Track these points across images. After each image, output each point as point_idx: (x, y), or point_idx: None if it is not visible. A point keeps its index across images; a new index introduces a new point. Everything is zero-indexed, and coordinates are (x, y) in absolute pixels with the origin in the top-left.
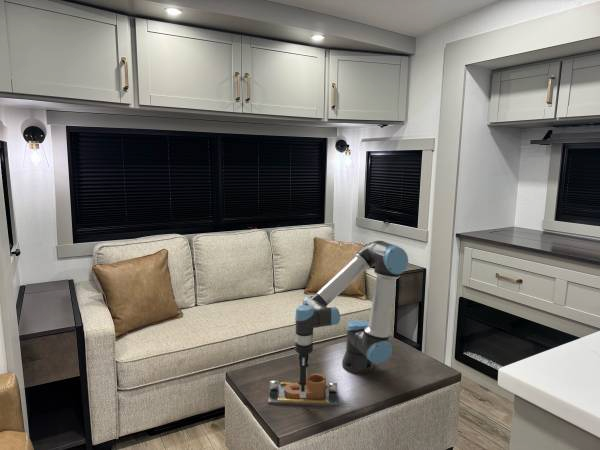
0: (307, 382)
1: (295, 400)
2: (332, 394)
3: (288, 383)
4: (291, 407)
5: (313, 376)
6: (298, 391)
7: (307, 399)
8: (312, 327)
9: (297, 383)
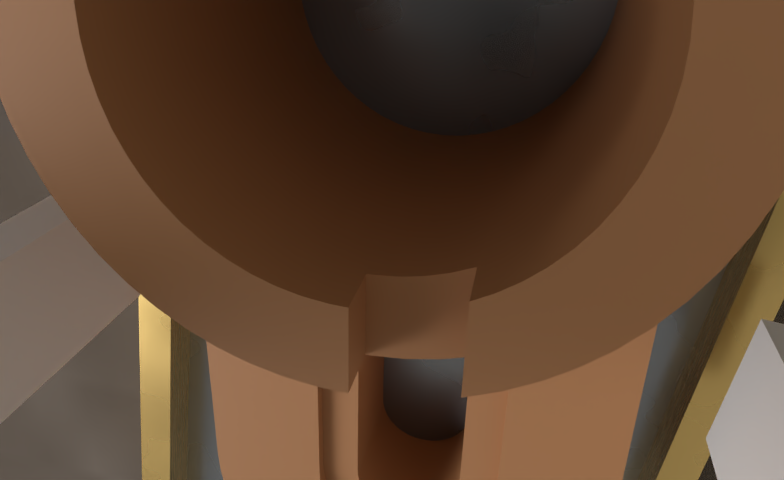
0: (460, 348)
1: (704, 464)
2: None
3: (165, 452)
4: None
5: (136, 102)
6: (547, 443)
7: None
8: None
9: (240, 391)
